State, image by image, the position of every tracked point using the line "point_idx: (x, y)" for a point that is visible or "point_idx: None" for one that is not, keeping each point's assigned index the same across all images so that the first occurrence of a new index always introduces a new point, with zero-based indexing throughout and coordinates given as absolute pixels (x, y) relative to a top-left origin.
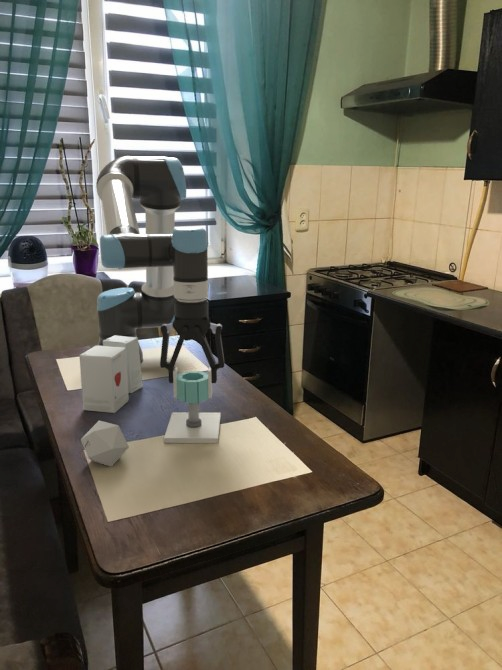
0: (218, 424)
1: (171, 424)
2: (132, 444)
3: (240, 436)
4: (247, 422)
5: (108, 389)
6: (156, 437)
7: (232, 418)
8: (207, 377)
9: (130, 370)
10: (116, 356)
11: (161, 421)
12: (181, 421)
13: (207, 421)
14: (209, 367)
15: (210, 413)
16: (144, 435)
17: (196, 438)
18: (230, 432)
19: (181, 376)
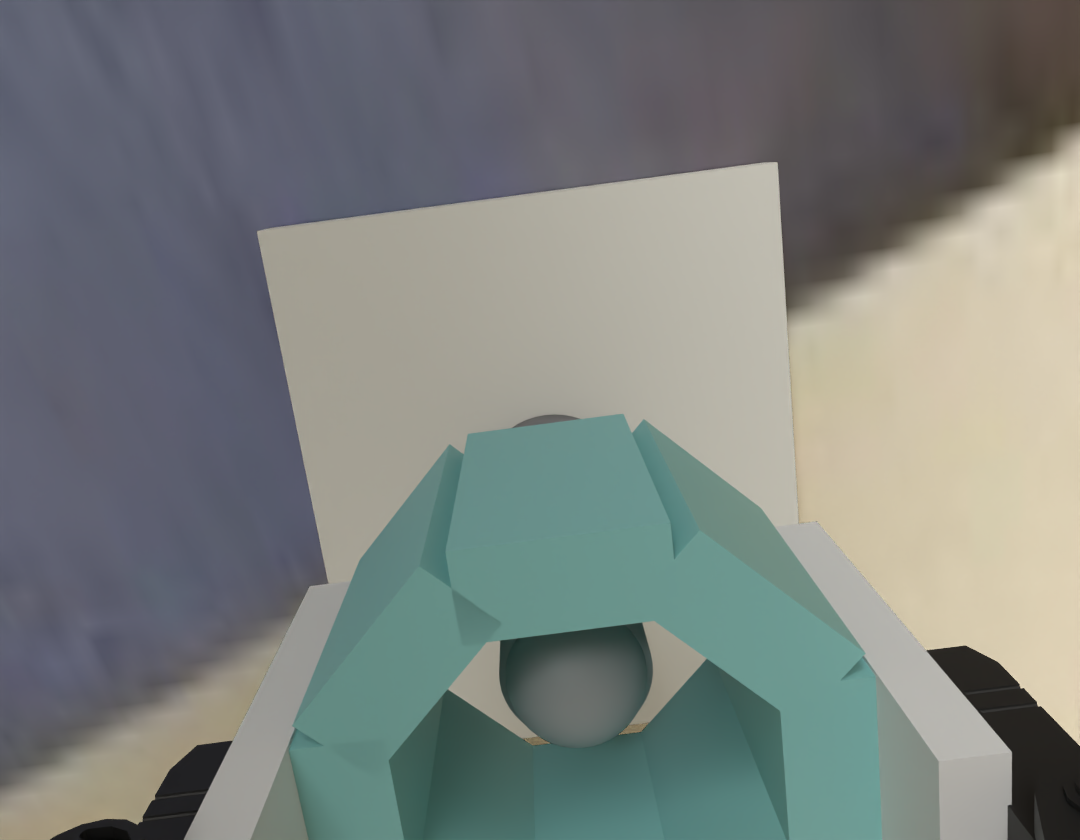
0: (786, 448)
1: (343, 512)
2: (132, 784)
3: (975, 542)
4: (1039, 252)
5: None
6: (274, 654)
7: (887, 177)
8: (867, 814)
9: None
10: None
11: (199, 346)
12: (418, 434)
13: (671, 400)
14: (957, 762)
15: (671, 202)
16: (160, 634)
17: (631, 721)
18: (885, 481)
19: (385, 833)
